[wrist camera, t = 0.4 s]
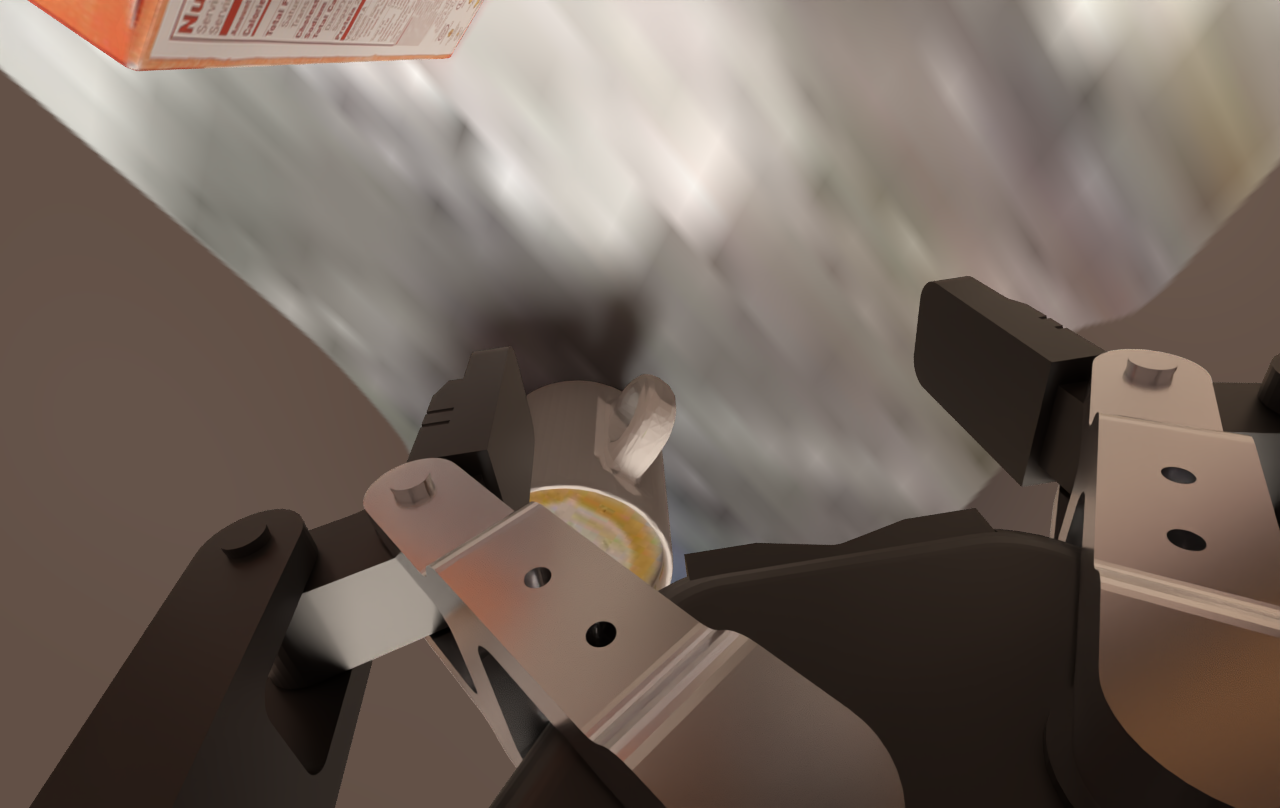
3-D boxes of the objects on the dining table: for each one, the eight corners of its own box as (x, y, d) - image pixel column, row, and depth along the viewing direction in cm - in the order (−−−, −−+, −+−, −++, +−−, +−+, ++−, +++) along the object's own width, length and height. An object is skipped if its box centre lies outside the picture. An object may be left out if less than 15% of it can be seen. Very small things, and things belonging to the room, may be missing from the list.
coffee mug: (585, 542, 41) (575, 672, 32) (463, 455, 38) (415, 574, 29) (738, 416, 37) (774, 526, 28) (616, 303, 33) (614, 390, 25)
